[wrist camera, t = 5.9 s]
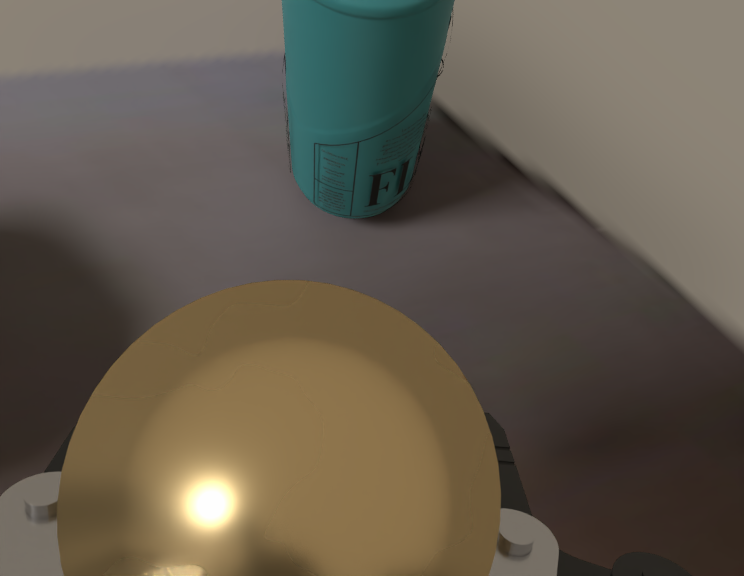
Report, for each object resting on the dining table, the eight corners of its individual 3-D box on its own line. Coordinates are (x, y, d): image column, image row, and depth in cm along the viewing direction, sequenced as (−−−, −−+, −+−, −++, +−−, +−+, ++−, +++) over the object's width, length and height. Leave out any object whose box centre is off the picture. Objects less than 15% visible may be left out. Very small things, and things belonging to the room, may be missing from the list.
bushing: (251, 659, 16) (158, 852, 6) (176, 478, 18) (-4, 387, 7) (421, 559, 17) (583, 581, 7) (338, 397, 19) (376, 221, 9)
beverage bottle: (362, 260, 34) (421, -85, 15) (262, 187, 35) (203, -218, 16) (435, 174, 36) (562, -219, 18) (338, 108, 37) (362, -329, 19)
